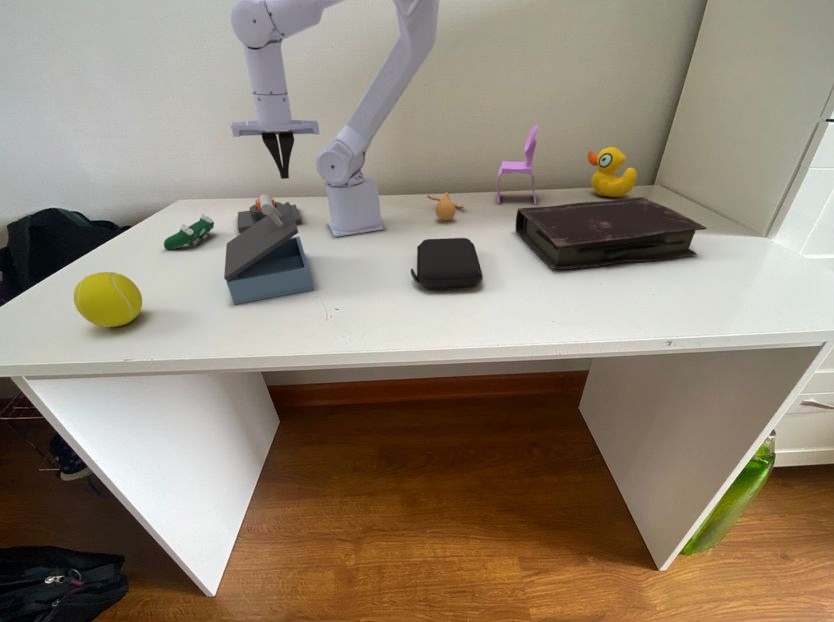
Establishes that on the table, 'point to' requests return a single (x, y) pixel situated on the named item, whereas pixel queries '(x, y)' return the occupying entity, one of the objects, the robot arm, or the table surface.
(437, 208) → the figurine
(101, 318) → the tennis ball
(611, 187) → the duckling
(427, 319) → the table surface
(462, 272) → the carrying case
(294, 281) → the lidded storage box
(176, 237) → the green toy race car
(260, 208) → the button
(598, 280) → the table surface
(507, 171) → the toy chair
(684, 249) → the diary
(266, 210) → the lid
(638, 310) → the table surface
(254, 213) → the control block
